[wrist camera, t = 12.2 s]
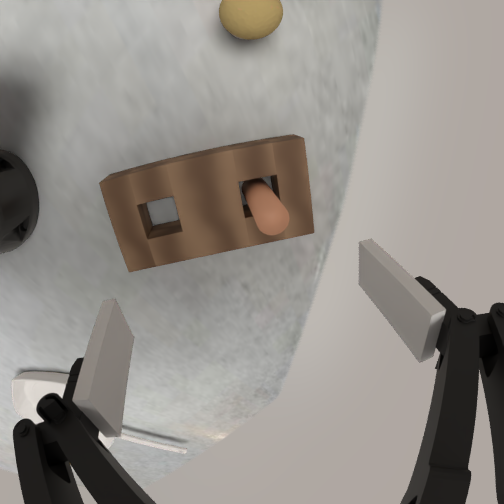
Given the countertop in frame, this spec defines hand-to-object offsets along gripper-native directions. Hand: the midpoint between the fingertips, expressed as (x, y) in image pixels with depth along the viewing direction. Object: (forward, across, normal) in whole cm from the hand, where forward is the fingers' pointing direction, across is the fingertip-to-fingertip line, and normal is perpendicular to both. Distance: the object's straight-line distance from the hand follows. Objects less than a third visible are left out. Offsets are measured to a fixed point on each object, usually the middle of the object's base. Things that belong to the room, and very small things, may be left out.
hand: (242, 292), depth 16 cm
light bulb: (+27, +7, +18) cm, 33 cm away
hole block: (+26, -1, -3) cm, 26 cm away
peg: (+26, +5, -3) cm, 27 cm away
